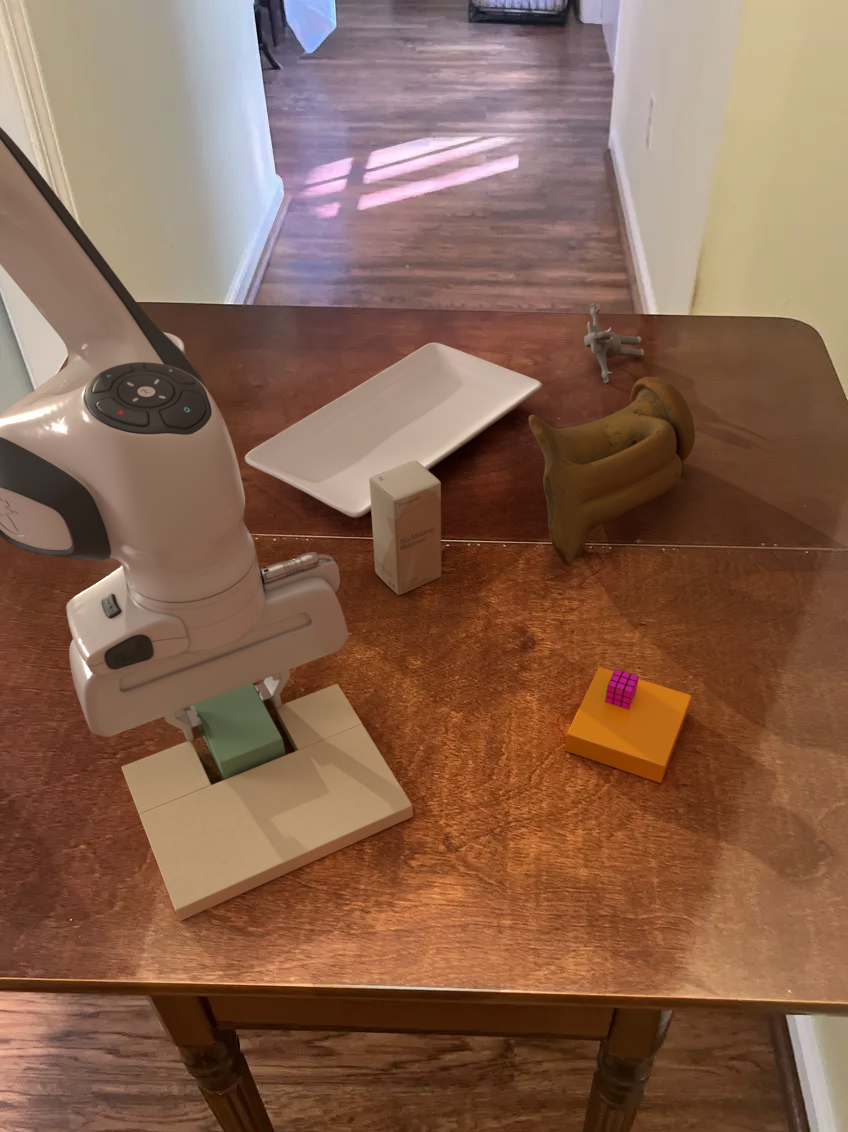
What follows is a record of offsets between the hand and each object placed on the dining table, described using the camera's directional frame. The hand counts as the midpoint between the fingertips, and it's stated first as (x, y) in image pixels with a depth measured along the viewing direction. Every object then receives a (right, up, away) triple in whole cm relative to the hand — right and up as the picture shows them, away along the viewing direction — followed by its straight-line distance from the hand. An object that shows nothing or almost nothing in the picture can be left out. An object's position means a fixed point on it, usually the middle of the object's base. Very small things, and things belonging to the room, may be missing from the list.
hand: (232, 718), depth 79 cm
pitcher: (+32, +20, +23) cm, 44 cm away
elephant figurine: (+35, +41, +43) cm, 69 cm away
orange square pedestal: (+32, -1, +2) cm, 32 cm away
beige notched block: (+4, -6, -3) cm, 8 cm away
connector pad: (0, -1, +1) cm, 2 cm away
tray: (+11, +28, +30) cm, 43 cm away
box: (+13, +12, +15) cm, 24 cm away
